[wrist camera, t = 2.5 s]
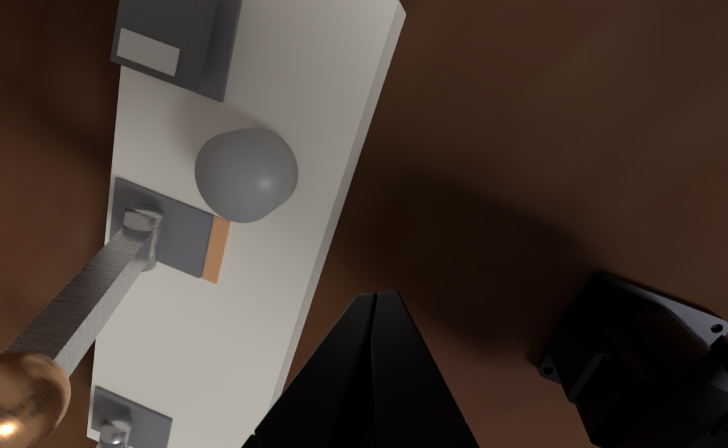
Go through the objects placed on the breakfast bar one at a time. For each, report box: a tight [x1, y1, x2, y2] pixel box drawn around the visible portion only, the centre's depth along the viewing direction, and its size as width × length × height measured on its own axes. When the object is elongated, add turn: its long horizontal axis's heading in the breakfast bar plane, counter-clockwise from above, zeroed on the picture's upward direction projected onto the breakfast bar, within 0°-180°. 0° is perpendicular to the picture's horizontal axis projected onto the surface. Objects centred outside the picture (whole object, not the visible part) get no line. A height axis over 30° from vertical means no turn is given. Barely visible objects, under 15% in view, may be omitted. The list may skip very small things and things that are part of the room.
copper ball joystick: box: [0, 204, 164, 448], centre depth 14 cm, size 3×3×12 cm
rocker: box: [110, 0, 218, 90], centre depth 15 cm, size 3×4×1 cm
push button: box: [195, 127, 298, 223], centre depth 17 cm, size 4×4×2 cm
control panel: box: [87, 0, 406, 448], centre depth 22 cm, size 11×30×3 cm, turn 162°
